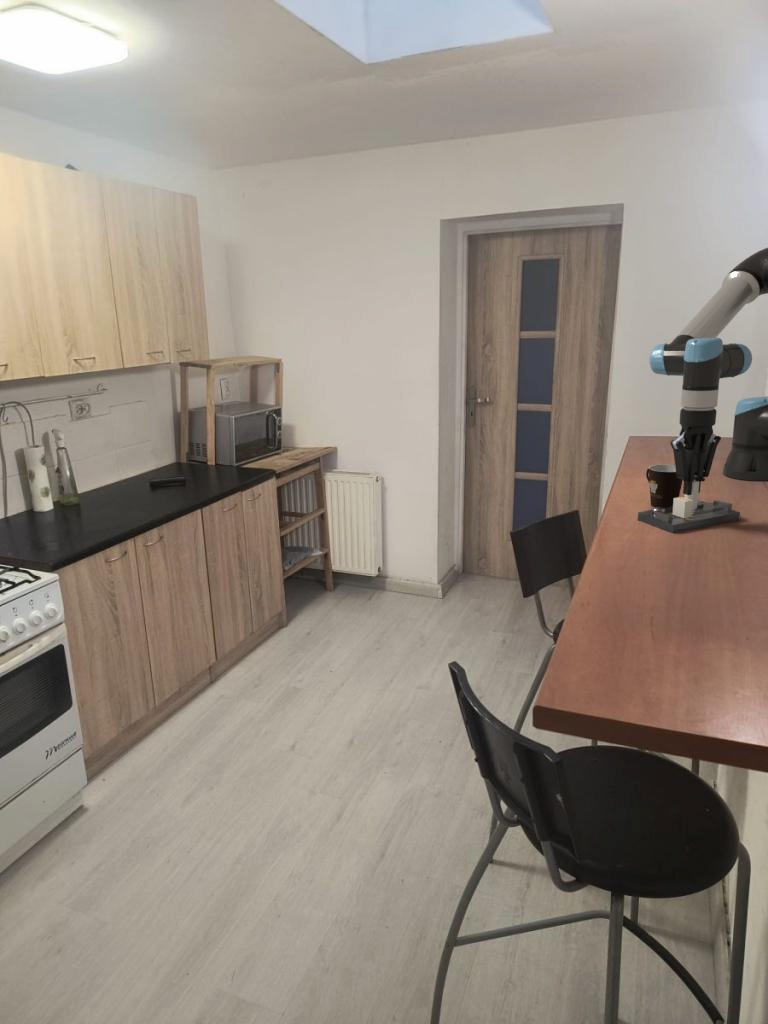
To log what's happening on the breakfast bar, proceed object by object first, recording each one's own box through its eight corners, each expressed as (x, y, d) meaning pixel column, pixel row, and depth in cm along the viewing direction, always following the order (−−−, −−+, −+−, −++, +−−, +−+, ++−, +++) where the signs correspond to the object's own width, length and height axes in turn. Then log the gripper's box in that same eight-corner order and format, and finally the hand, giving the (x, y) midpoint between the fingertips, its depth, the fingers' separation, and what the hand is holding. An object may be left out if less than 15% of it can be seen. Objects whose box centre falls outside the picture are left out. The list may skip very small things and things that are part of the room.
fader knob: (680, 512, 160) (681, 496, 159) (691, 516, 157) (693, 499, 156) (672, 514, 159) (673, 497, 158) (683, 518, 156) (685, 501, 155)
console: (701, 508, 170) (702, 494, 169) (739, 520, 159) (740, 505, 158) (637, 520, 163) (638, 506, 162) (672, 533, 153) (673, 518, 152)
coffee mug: (685, 510, 169) (688, 471, 166) (649, 510, 171) (651, 472, 168) (675, 498, 180) (678, 461, 177) (641, 497, 182) (644, 462, 179)
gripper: (707, 403, 157) (699, 499, 164) (663, 408, 153) (656, 507, 160) (733, 407, 150) (724, 507, 157) (688, 412, 146) (680, 515, 153)
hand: (690, 507), depth 158 cm, fingers closed
